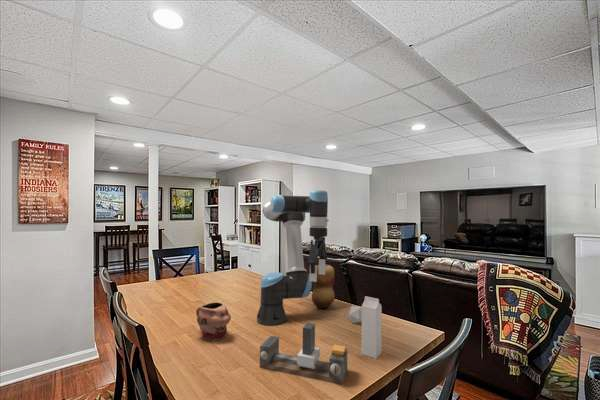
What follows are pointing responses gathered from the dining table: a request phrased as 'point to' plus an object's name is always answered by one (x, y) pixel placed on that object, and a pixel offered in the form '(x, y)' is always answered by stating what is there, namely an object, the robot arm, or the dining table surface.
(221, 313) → the decorative planter
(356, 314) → the die
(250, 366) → the dining table surface
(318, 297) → the butternut squash
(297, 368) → the rail base
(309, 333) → the carriage
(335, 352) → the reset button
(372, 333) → the milk
